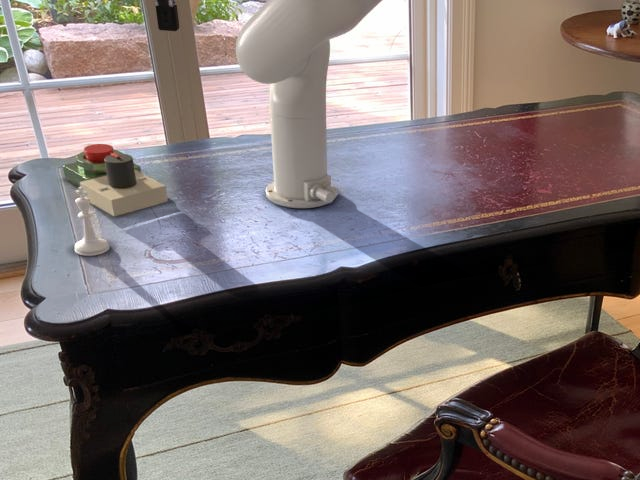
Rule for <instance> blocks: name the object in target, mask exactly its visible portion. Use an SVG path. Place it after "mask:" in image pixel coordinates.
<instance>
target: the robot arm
mask: <svg viewBox="0 0 640 480" xmlns="http://www.w3.org/2000/svg"><path fill="white" fill-rule="evenodd" d="M382 1H383V0H266V2H265V3H264V4H263V5H262V6H261V7H260V8H259V9H258V10H256V12H255V13H254V14H253V15H252V16H251V17H250V18H249V20H247V21H246V23H245V24H244V25H243V26H242V28H240V30H239V32H238V35H237V38H236V41H235V57H236V61H237V64H238V66H239V67H240V69H241V71H242V72H243V73H244V74H245V75H246V76H247V77H248V78H249V79H251V80H252V81H254V82H256V83H259V84H265V85H269V100H268V101H269V121H270V137H271V153H272V169H273V170H272V171H273V181H272V182H270V183H269V184H268V185H267V186H266V187H265V196H266V198H267V199H268V200H269V201H270V202H271V203H273V204H275V205H278V206H281V207H284V208H285V207H286V208H292V209H312V208H318V207H319V208H320V207H323V206H325V205H328V204H332V203H333V202H334V200H335V199H336V198H337V196H339V194H340V189H339V188H337V187H335V185H334V184H332V179H331V178H332V176H331V175H329V174H328V142H327V141H328V139H327V138H328V137H327V133H328V132H327V79H328V70H329V63H330V55H331V41H330V40H332V39H335V38H338V37H341V36H343V35H346V34H347V33H349V32H350V31H352V30H353V29H355V28H356V27H357V26H358V24H360V23H361V21H362V20H363V19H364V18H366V16H367V15H368V14H369V13H370V12H372V11H373V10H374V9H375V8H376V7H377V6H378V5H379V4H380V3H381V2H382ZM154 5H155V6H154V7H155V13H156V21H157V28H158V30H159V31H165V32H166V31H167V32H178V30H179V29H180V20H179V10H178V4H177V0H154Z"/></svg>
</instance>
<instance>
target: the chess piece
mask: <svg viewBox="0 0 640 480" xmlns="http://www.w3.org/2000/svg"><path fill="white" fill-rule="evenodd" d="M74 194H75V195H79V197H77V198H76V199H75V201H74V202H75V204H76V205H77V207H78V209H79V211H80V212H78V214H77V217H78V218H79V219H82V223H83V238H82V239H80V240H78V241H77V242H75V244H74V252H75V253H76V254H78V255H79V256H86V257H92V256H99V255H102V254H105V253H107V252H108V251H109V250H110V248H111V246H110V244H109V242H108V240H106V239H104V238H101V237H98V236H97V235H96V232H95V229H94V228H93V224H92V221H91V218H93V217H94V213H93V212H92V211H89V210H90V204H91V203H90V199H89V198H86V197H84V195H85V196H86V195H88V194H87V192H85V191H83V188H82V187H77V189H76V190H74Z"/></svg>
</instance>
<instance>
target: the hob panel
mask: <svg viewBox="0 0 640 480" xmlns="http://www.w3.org/2000/svg"><path fill="white" fill-rule="evenodd" d="M135 176H136V185H134V186H132V187H129V188H113V187H111V186H110V185H109V182H108V177H107V176H103V177H99V178H95V179H90V180H86V181H82V182H80V187H82V188H83V191H85V192H87V194H88V195H86V196H85V195H84V197H86V198H89V199H90V204H92V205H93V206H95V207H96V208H99V209H100V210H102V211H104V212H106V213H107V214H108V215H110V216H112V217H117V216H121V215H125V214H129V213H132V212H135V211H139V210H142V209H147V208H149V207H153V206H156V205H161V204H164V203H167V202H168V201H169V200H168V193H167V187H166V185H165V184H163V183H162V182H159V181H157V180H156V179H154V178H152V177H150V176H148V175H146V174H144V173H142V172H141V173H140V172H138V171H136V170H135Z"/></svg>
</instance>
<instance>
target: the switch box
mask: <svg viewBox="0 0 640 480" xmlns="http://www.w3.org/2000/svg"><path fill="white" fill-rule="evenodd" d="M114 153H115V154H124V152H122V151H120V150H118V149H114ZM75 157H76V159H75V160H76V161H75V162H70V163H66V164H62V169H63V174H64V175H63V176H64V179H65V180H66V181H68V182H70V183H72V184H73V185H75V186H77V188H79V187H80V182H82V181H86V180H90V179H95V178H99V177H103V176H107V171H106V166H105V161H97V162H95V161H88V160H86V158H85V153H84V150H83V151H81V152H80V153H78V154H76V156H75ZM133 164H134V170H136V171H138V172H140V173H142V168H141V165H139V164H137V163H135V162H133Z"/></svg>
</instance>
